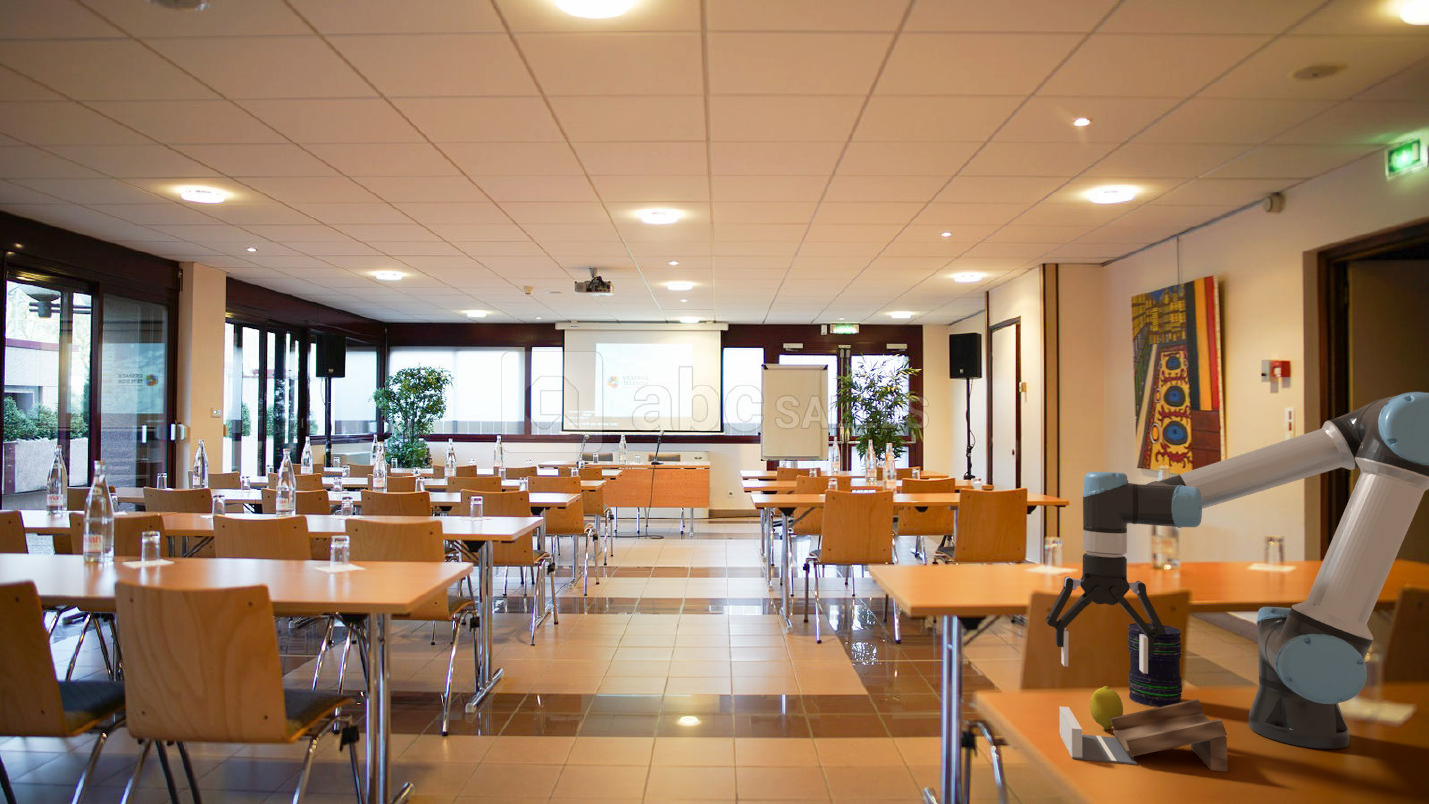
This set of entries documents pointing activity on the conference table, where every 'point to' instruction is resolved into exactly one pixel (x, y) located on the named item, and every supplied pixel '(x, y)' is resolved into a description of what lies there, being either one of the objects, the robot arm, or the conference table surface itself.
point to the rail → (1070, 732)
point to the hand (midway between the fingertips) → (1103, 668)
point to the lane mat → (1097, 753)
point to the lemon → (1105, 706)
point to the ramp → (1173, 732)
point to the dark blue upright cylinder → (1156, 668)
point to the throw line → (1106, 748)
